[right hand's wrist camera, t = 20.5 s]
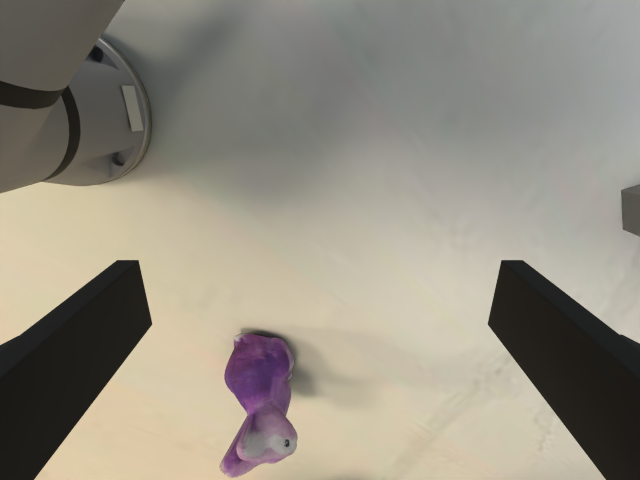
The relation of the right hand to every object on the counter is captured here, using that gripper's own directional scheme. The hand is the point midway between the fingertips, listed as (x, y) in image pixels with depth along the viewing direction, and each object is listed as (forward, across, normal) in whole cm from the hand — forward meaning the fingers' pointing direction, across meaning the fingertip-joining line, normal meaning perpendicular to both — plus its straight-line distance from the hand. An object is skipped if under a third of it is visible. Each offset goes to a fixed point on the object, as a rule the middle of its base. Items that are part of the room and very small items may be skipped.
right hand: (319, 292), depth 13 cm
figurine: (+27, -7, -26) cm, 38 cm away
